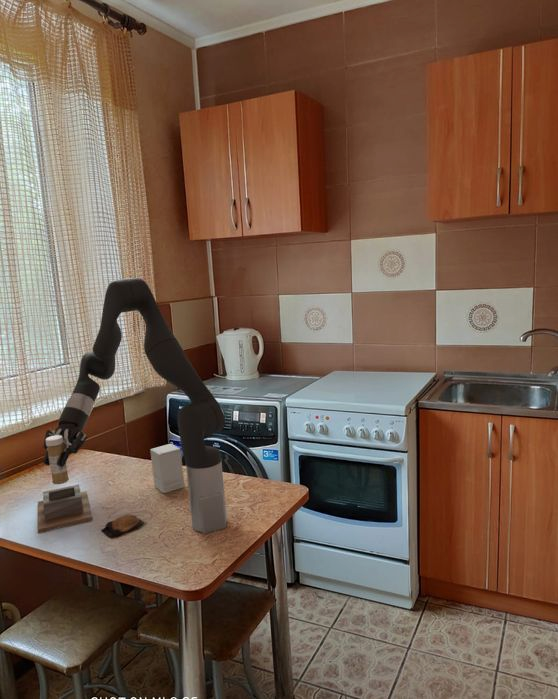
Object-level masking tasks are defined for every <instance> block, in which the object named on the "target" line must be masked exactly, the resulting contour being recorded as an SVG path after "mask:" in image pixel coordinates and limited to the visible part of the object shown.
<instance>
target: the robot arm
mask: <svg viewBox="0 0 558 699" xmlns="http://www.w3.org/2000/svg"><path fill="white" fill-rule="evenodd" d="M135 311H138V313H139V314H140V315H141V317H142V319H143V321H144V324H145V333H144V340H143V342H144V343H143V350H144V354H145V356H146V357H147V358H146V359H147V360H148V362H149V363H150V365H151V366H152V368H153V370H154V372H156V374H158V376H160V377H161V378H163V380H165V381H167V382H168V383H169V384H171V385H173V386H174V387H176V388H177V389H179V390H180V391H181V392H183V393H184V394H185V396H186V397H187V398H188V399H189V400H190V402H191V403H190V404H189V403H188V404H186V405H184V406H182V407H181V408H180V409H179V411H178V414H177V427H178V433H179V440H180V441H179V442H180V447H181V448H180V449H181V452H182V454H183V457H184V460H185V470H186V479H187V480H186V481H187V490H188V498H189V499H188V500H189V509H190V517H191V527H192V528H193V530H195V531H197V532H201V533H202V534H209V533H212V532H216V531H219V530H222V529H225V528H227V527H226V526H227V524H228V518H227V517H228V516H227V508H226V507H227V506H226V500H225V498H226V496H225V487H224V478H223V477H224V475H223V473H224V472H223V465H222V464H223V463H222V462H223V461H222V454H221V450H220V449H219V448H218V447H215V446H210V445H209V446H208V445H206V442H205V438H206V437H209V436H211V435H215V434H217V433H219V432H221V431H222V430H223V429H224V427H225V425H226V419H225V418H226V417H225V413H224V412H223V411H224V410H223V409H222V407H221V405H220V404H219V402H218V401H217V399H216V398H215V396H214V394H212V392H211V391H210V389H209V388H208V387H207V385H206V384H205V382H203V380H202V379H201V377H200V376H199V375H198V373H197V371H196V370H195V368H194V366H193V365H192V363H191V361H190V360H189V359H188V356H187V354H186V353H185V351H184V349H183V348H182V346H181V344H180V342H179V341H178V339H177V338H176V337H175V335H174V333H173V332H172V329H171V328H170V326H169V325H168V323H167V321H166V319H165V317H164V316H163V314H162V311H161V310H160V308H159V305H158V303H157V301H156V299H155V297H154V294H153V292H152V290H151V288H150V286H149V285H148V282H146V281H145V280H144V279H142V278H140V277H129V278H128V277H127V278H119V279H114V280H112V281H110V282H109V284H108V286H107V288H106V291H105V296H104V302H103V308H102V313H101V320H100V326H99V330H98V332H97V334H96V338H95V340H94V343H93V345H92V351H87V352H86V353H85V354H83V355H82V357H81V360H80V366H79V374H78V378H77V381H76V385H75V387H74V388H73V391H72V393H71V395H70V396H69V398H68V399H67V401H66V404H65V405H64V407H63V410H62V412H61V414H60V416H59V417H58V426H57V427H56V428H55V429H54V430H50V429H47V430H46V431H45V436H44V440H43V445H42V448H43V449H44V450H46V453H45V455H44V457H43V459H42V463H43V465H45V466H46V467H47V466H49V467H50V463H49V456H48V448H47V445H46V438H48V437H50V436H55V435H61V436H62V437H63V452H61V454H60V457H59V459H58V461H57V465H58V466H59V467H63V466H64V465H65V464H66V465H67V461H68V458H69V456H71V455H72V454H74V455H75V454H77V453H78V451H79V450H80V448H82V446H83V444H84V443H85V442H86V441H87V439H88V435H87V434H85V433H84V432H82V431H83V430H84V429H85V427H86V424H87V422H88V420H89V418H90V415H91V413H92V411H93V408H94V404H95V401H96V400H97V397H98V394H99V393H100V391H101V390H100V389H101V386H100V384H99V383H98V382H96V381H95V380H94V379H92V378H91V377H90V376H92V377H95V378H97V379H100V380H103V381H104V380H106V381H107V380H109V379H110V378H112V377H113V376H114V373H115V370H116V355H117V352H118V350H119V347H120V345H121V342H122V336H123V335H122V334H123V333H122V329H121V327H120V325H119V323H118V319H119V316H120V315H121V314H122V313H127V312H129V313H130V312H135Z"/></svg>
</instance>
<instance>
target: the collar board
mask: <svg viewBox="0 0 558 699" xmlns="http://www.w3.org/2000/svg"><path fill="white" fill-rule="evenodd" d="M42 497H43V498H42V500H39V501H37V531H38V533H39V534H40V533H43V532H47V531H53V530H56V529H60V528H65V527H69V526H72V525H78V524H82V523H87V522H89V521H94V520H93V513H92V509H91V506H90V500H89V497H88V491H87V490H85V491H81V488H80V484H75V485H74V484H73V485H70V486H66V487H60V488H56V489H51V490H47V491H42Z"/></svg>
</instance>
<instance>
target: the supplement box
mask: <svg viewBox="0 0 558 699" xmlns="http://www.w3.org/2000/svg"><path fill="white" fill-rule="evenodd" d="M181 452H182V448H180V447H178V446H177V445H174V444H173V443H169V444H164V445H161V446H157V447H154V448H150V458H151V468H152V477H153V484H154V486H153V487H155V489H157V490H158V491H160V493H162V494H166V493H170V492H172V491H176V490H179V489H183V488H184V487H185V479H184V470H183V461H182V460H183V459H182V453H181Z"/></svg>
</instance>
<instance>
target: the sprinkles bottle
mask: <svg viewBox="0 0 558 699" xmlns="http://www.w3.org/2000/svg"><path fill="white" fill-rule="evenodd" d="M46 445H47V448H48V456H49V463H50V465H49V469H50V473H51V480H52V481H51V483H52V484H53V485H62V484H65V483H67V482H68V481H69V480H70V478H69V474H68V466H67V463H66V464H65V465H64V466H63V467H59V466H58V465H57V461H58V459H59V457H60V454H61V452H63V447H64V444H63V437H62V436H61V435H55V436H50V437H48V438H46Z"/></svg>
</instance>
